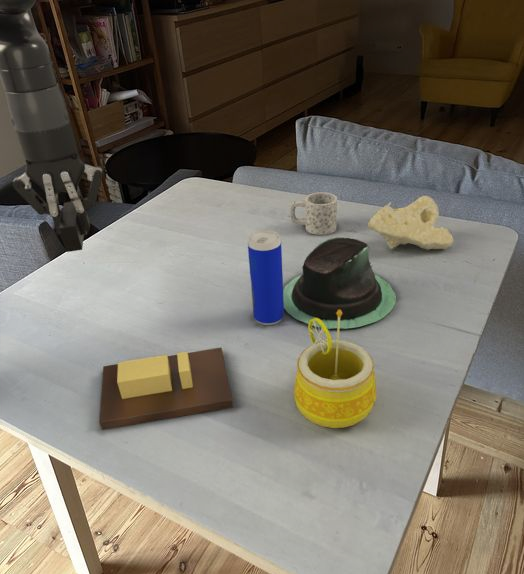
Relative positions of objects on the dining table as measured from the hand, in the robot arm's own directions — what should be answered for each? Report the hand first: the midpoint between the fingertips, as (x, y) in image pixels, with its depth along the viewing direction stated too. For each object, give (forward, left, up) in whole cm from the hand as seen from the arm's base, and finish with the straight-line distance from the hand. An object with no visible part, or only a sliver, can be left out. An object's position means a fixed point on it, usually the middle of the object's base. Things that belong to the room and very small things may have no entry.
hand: (75, 233), depth 86 cm
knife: (0, +5, -1) cm, 5 cm away
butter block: (+9, -24, -13) cm, 29 cm away
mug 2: (+34, -32, -15) cm, 49 cm away
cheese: (+60, +6, -15) cm, 62 cm away
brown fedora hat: (+42, -7, -15) cm, 45 cm away
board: (+11, -24, -15) cm, 30 cm away
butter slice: (+14, -24, -13) cm, 31 cm away
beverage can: (+29, -10, -15) cm, 34 cm away
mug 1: (+45, +21, -15) cm, 52 cm away
